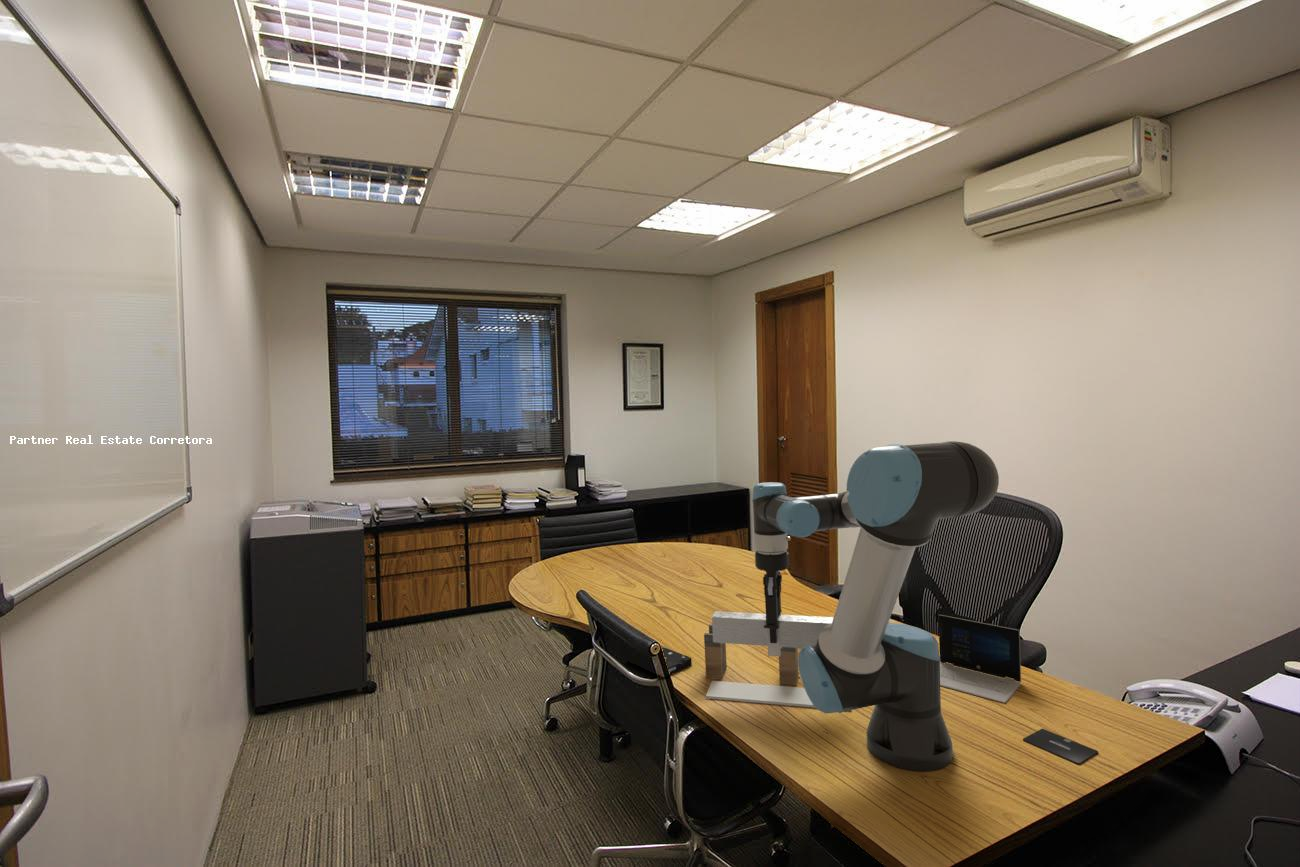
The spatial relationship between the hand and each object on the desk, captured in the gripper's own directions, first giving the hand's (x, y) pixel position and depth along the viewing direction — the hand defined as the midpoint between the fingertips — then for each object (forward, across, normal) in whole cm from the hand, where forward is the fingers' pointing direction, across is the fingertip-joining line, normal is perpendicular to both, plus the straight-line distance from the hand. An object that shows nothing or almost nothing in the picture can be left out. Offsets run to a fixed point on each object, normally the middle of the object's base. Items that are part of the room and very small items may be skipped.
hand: (775, 651), depth 141 cm
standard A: (+11, +10, -2) cm, 14 cm away
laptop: (+11, +15, -43) cm, 47 cm away
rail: (-2, 0, 0) cm, 2 cm away
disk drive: (+11, +12, +32) cm, 36 cm away
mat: (+10, 0, 0) cm, 10 cm away
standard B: (+11, +10, +16) cm, 21 cm away
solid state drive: (+11, -11, -53) cm, 55 cm away
